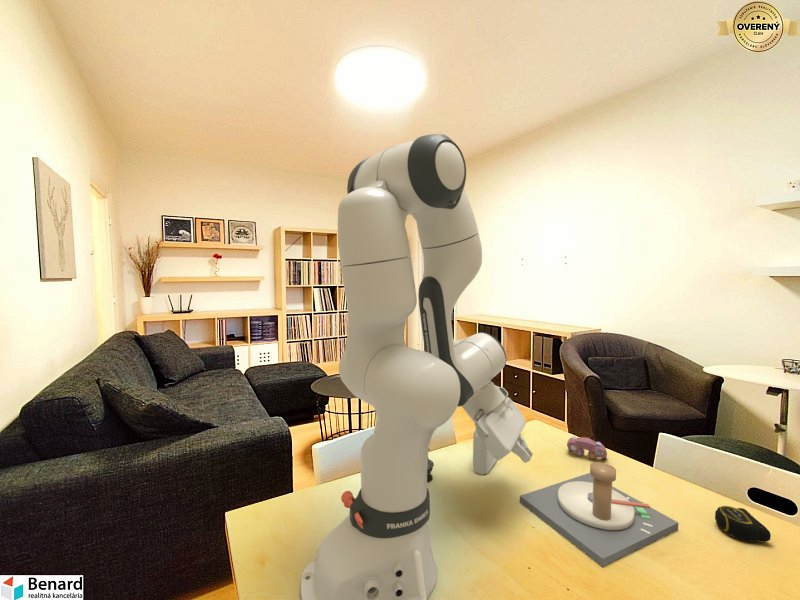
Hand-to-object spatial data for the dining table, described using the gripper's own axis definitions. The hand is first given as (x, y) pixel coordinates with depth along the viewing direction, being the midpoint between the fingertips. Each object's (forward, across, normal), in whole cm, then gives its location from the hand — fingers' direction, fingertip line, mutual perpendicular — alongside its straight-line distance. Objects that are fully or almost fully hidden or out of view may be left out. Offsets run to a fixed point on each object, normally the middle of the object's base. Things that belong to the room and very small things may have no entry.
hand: (529, 458), depth 76 cm
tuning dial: (+17, +6, -3) cm, 18 cm away
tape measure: (+34, +14, -19) cm, 42 cm away
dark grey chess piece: (-9, +3, +27) cm, 28 cm away
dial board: (+17, +6, -1) cm, 18 cm away
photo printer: (-1, +16, +17) cm, 23 cm away
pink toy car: (+15, +33, 0) cm, 37 cm away
